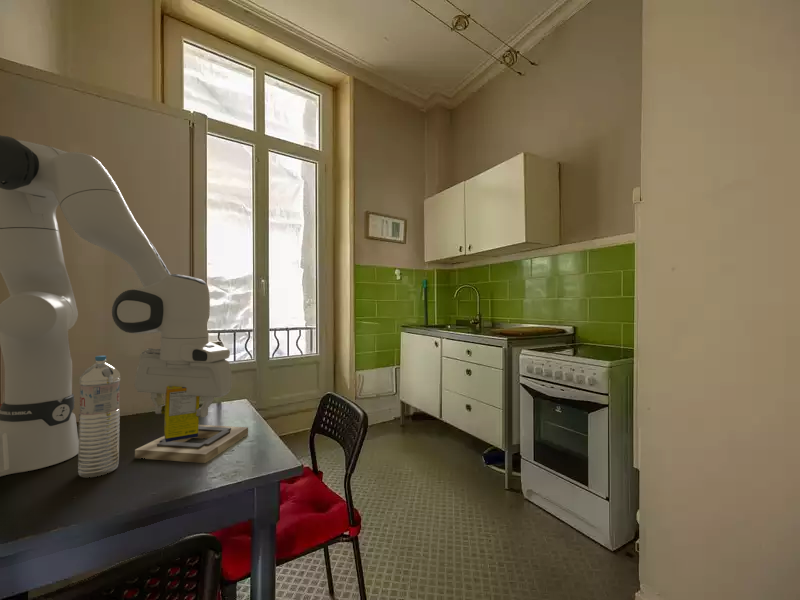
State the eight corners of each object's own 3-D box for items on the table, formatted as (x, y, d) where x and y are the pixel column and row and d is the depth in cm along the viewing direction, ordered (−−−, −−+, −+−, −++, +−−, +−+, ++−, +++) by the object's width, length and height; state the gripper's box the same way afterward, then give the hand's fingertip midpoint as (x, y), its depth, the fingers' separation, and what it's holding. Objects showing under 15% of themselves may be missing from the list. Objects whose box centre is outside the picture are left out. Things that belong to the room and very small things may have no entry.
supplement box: (194, 429, 81) (196, 380, 81) (198, 437, 76) (200, 385, 76) (163, 433, 77) (165, 383, 78) (164, 442, 73) (167, 388, 73)
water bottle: (87, 466, 80) (89, 354, 80) (124, 462, 82) (125, 353, 82) (70, 481, 74) (73, 359, 74) (111, 476, 76) (113, 357, 76)
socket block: (134, 458, 85) (135, 447, 85) (188, 431, 102) (189, 422, 102) (205, 463, 82) (205, 452, 82) (248, 434, 100) (248, 425, 100)
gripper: (128, 349, 75) (124, 415, 75) (219, 354, 73) (216, 423, 72) (152, 346, 81) (149, 407, 81) (236, 350, 79) (234, 414, 79)
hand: (181, 414), depth 77 cm, fingers closed on supplement box, 8 cm apart
